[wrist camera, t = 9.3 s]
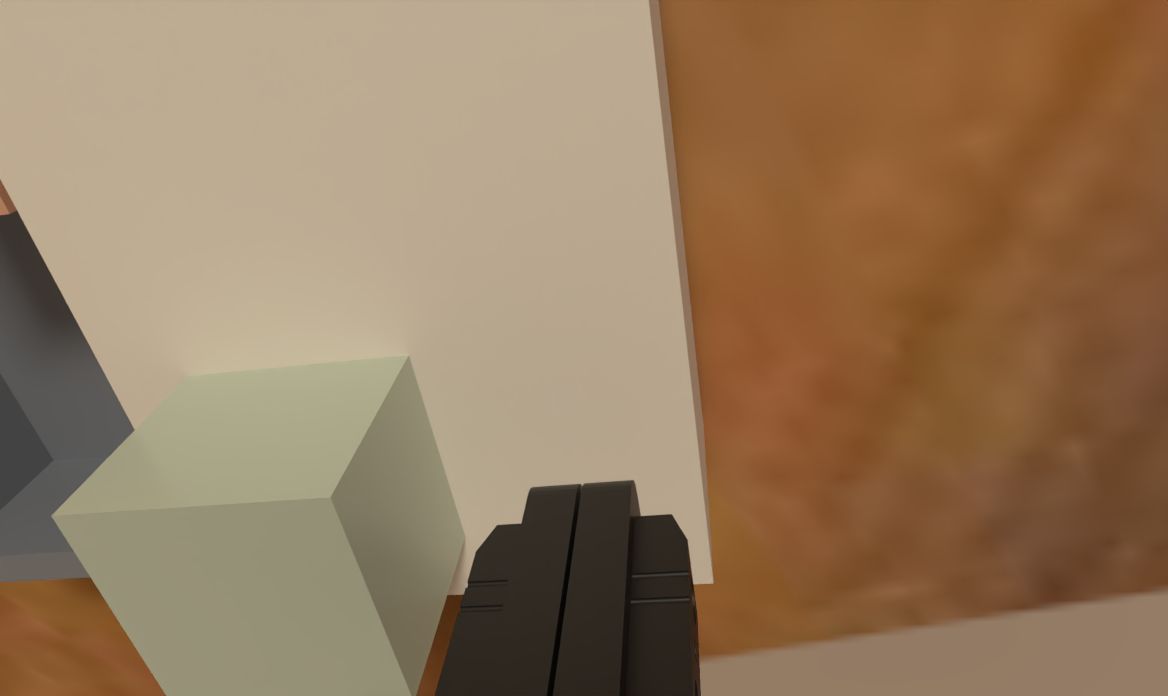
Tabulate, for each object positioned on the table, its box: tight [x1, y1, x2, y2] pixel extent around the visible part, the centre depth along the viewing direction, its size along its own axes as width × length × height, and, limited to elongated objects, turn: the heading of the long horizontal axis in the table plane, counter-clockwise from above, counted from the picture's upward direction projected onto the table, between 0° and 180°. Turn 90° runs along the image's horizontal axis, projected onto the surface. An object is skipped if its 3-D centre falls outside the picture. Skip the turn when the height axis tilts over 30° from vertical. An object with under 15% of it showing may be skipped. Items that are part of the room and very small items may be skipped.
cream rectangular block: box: [0, 0, 713, 595], centre depth 14 cm, size 10×14×5 cm
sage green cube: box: [52, 355, 465, 696], centre depth 13 cm, size 4×4×4 cm
